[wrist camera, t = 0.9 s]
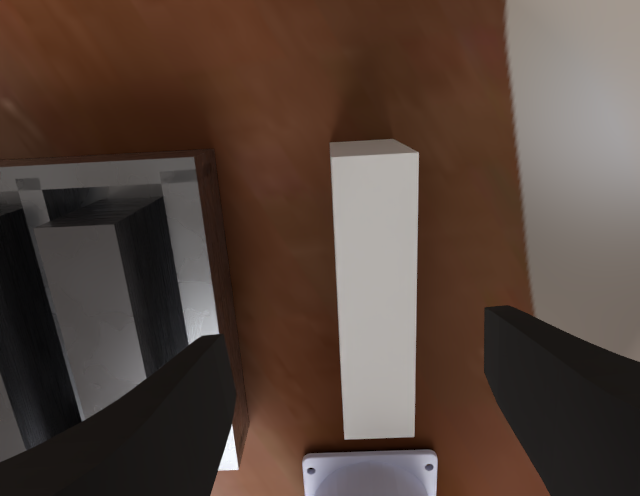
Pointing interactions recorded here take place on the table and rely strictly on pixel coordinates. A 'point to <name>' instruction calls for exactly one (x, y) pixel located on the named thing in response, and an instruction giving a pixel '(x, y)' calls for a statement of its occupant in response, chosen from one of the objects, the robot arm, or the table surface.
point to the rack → (107, 285)
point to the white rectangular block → (376, 284)
